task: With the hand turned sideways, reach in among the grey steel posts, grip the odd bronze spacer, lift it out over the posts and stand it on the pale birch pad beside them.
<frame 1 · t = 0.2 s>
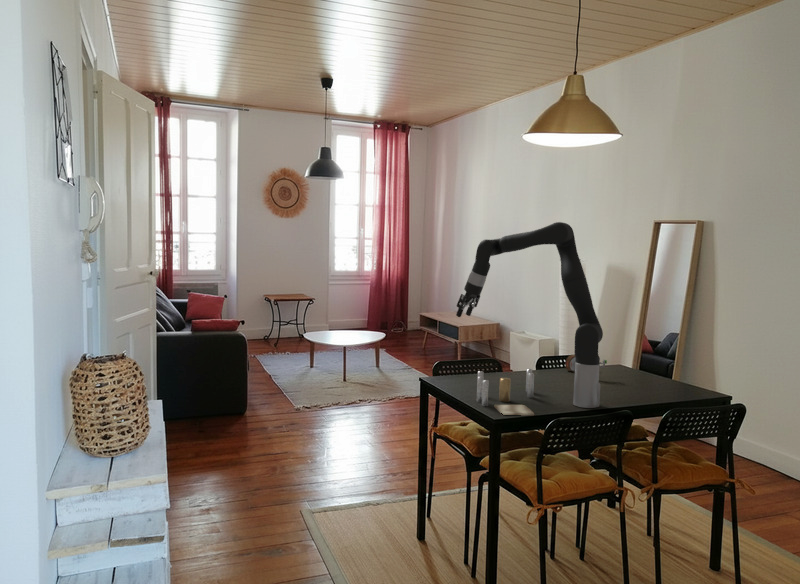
hand: (463, 315, 271), 31 cm above the table, tool tilted 20°, fingers open, 8 cm apart
bronze spacer: (504, 400, 248), on the table
tin: (576, 371, 312), on the table
mechanical component: (594, 380, 292), on the table
birch pad: (513, 411, 233), on the table
steel posts: (504, 400, 248), on the table
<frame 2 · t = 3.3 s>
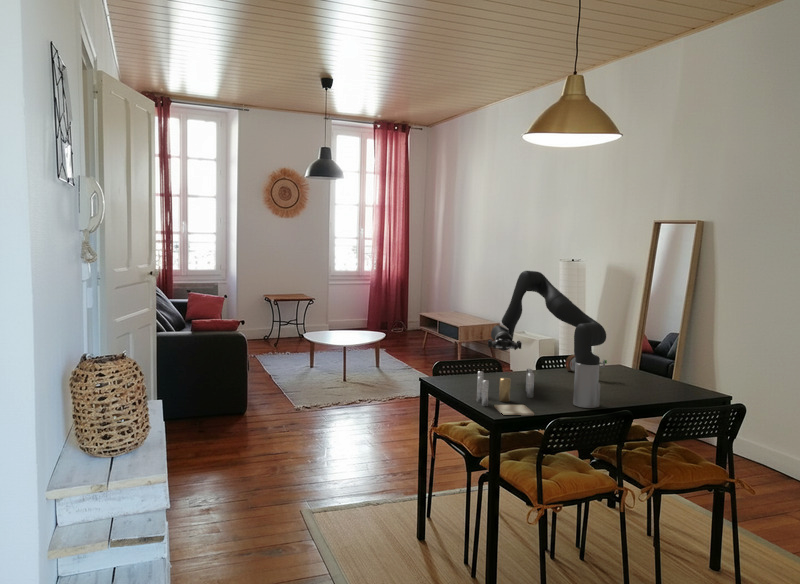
hand: (505, 347, 257), 20 cm above the table, tool horizontal, fingers open, 8 cm apart
nothing on the table moved.
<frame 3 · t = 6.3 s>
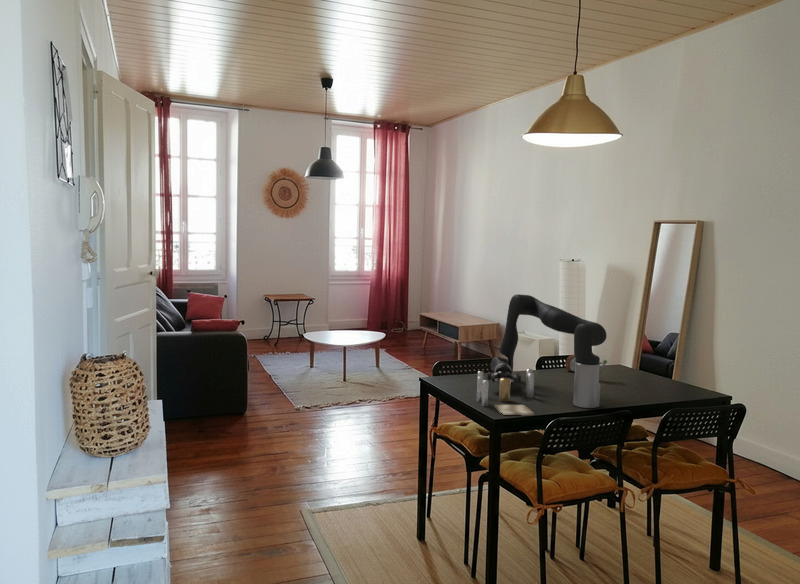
hand: (504, 380, 255), 6 cm above the table, tool horizontal, fingers open, 8 cm apart
nothing on the table moved.
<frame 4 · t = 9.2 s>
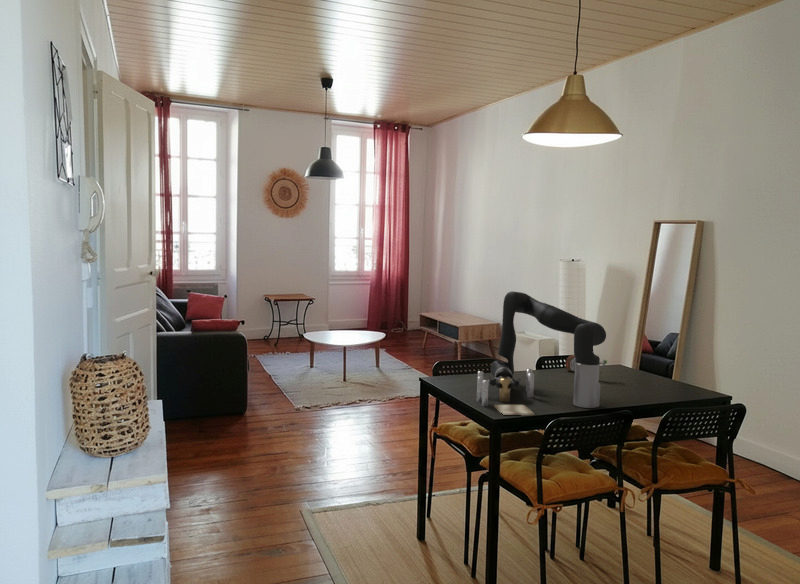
hand: (505, 386, 245), 7 cm above the table, tool horizontal, fingers closed on bronze spacer, 4 cm apart
bronze spacer: (504, 400, 248), on the table, touching gripper
everything else where it was.
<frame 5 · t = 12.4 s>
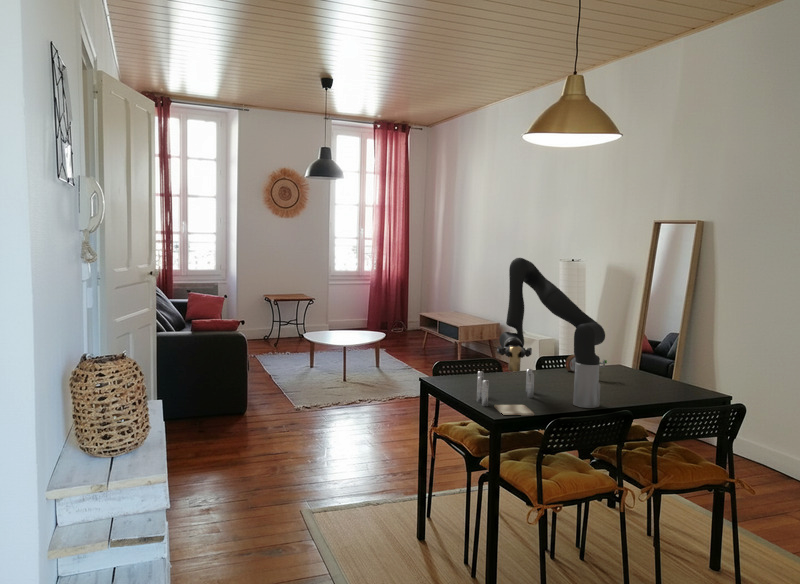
hand: (515, 354, 230), 22 cm above the table, tool horizontal, fingers closed on bronze spacer, 4 cm apart
bronze spacer: (514, 370, 233), point 15 cm above the table, touching gripper
everything else where it was.
when the fingers open (9 cm above the table, at t = 16.0 s): bronze spacer drops 1 cm, resting on birch pad.
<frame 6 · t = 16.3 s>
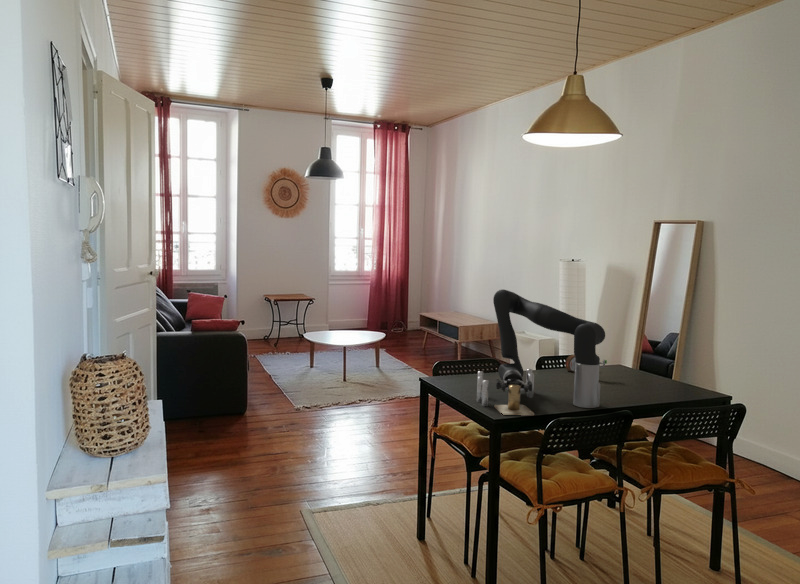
hand: (515, 389, 230), 9 cm above the table, tool horizontal, fingers open, 7 cm apart
bronze spacer: (513, 408, 233), point 1 cm above the table, touching birch pad
everything else where it was.
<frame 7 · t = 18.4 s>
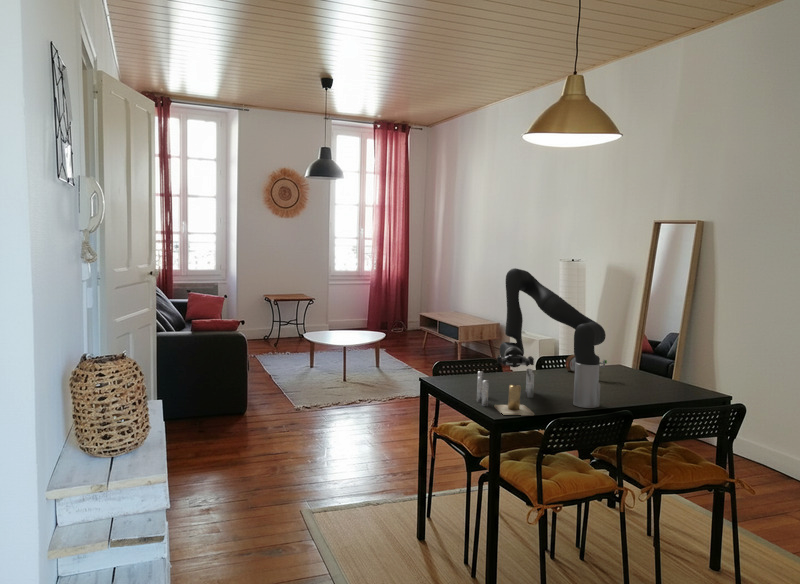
hand: (516, 363, 235), 18 cm above the table, tool horizontal, fingers open, 8 cm apart
nothing on the table moved.
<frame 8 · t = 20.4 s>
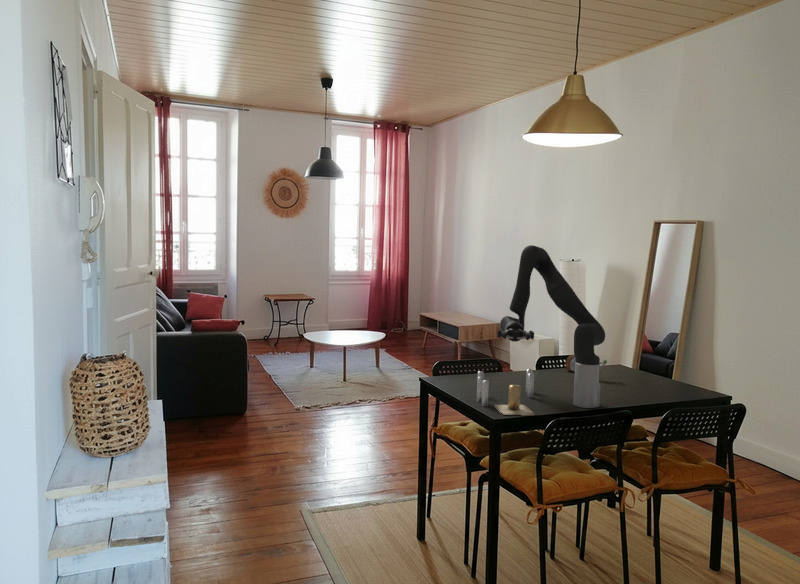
hand: (516, 336, 235), 28 cm above the table, tool horizontal, fingers open, 8 cm apart
nothing on the table moved.
at the end: bronze spacer inside the target area on the birch pad (0.1 cm from its centre), point 0.8 cm above the birch pad's base; bronze spacer tilted 1°; the gripper is holding nothing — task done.
